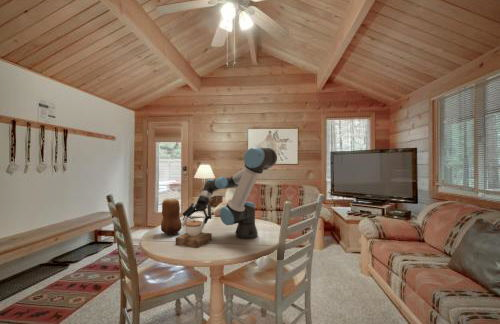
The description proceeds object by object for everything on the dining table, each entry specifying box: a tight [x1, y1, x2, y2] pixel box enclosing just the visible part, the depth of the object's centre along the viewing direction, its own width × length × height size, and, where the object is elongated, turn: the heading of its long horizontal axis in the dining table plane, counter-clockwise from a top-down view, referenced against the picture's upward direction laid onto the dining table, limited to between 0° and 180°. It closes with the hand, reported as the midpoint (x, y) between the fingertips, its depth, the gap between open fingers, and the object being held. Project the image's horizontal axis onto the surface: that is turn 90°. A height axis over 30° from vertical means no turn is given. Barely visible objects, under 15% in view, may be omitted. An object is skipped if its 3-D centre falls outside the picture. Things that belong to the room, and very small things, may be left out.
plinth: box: [175, 231, 213, 249], centre depth 162 cm, size 16×16×4 cm
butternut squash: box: [160, 198, 183, 236], centre depth 179 cm, size 14×13×25 cm
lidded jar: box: [185, 219, 203, 237], centre depth 162 cm, size 11×11×9 cm
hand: (192, 226), depth 160 cm, fingers open, 13 cm apart
